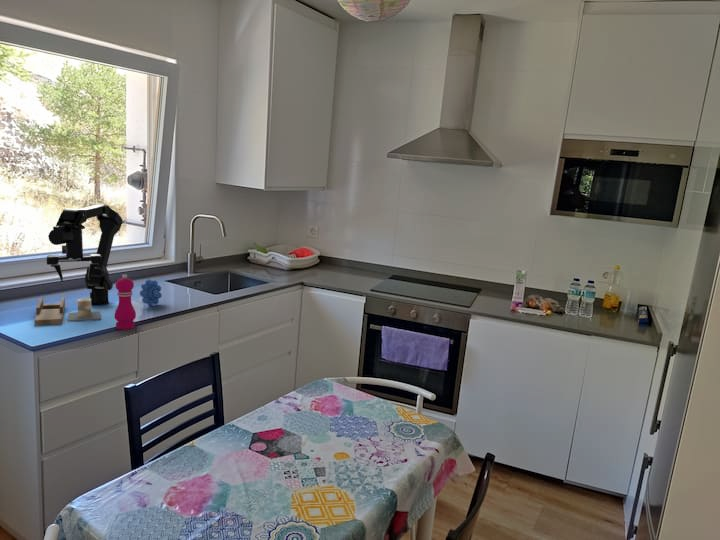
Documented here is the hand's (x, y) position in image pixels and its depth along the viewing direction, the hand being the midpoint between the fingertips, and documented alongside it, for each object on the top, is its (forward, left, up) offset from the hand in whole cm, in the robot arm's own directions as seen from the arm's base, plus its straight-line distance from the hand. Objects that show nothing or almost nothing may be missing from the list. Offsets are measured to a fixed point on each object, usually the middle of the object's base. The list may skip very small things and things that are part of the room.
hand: (75, 280), depth 202 cm
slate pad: (-3, +8, -13) cm, 15 cm away
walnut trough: (+9, +3, -13) cm, 16 cm away
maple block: (-3, +7, -12) cm, 14 cm away
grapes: (-28, -3, -13) cm, 31 cm away
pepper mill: (-16, +25, -13) cm, 33 cm away
